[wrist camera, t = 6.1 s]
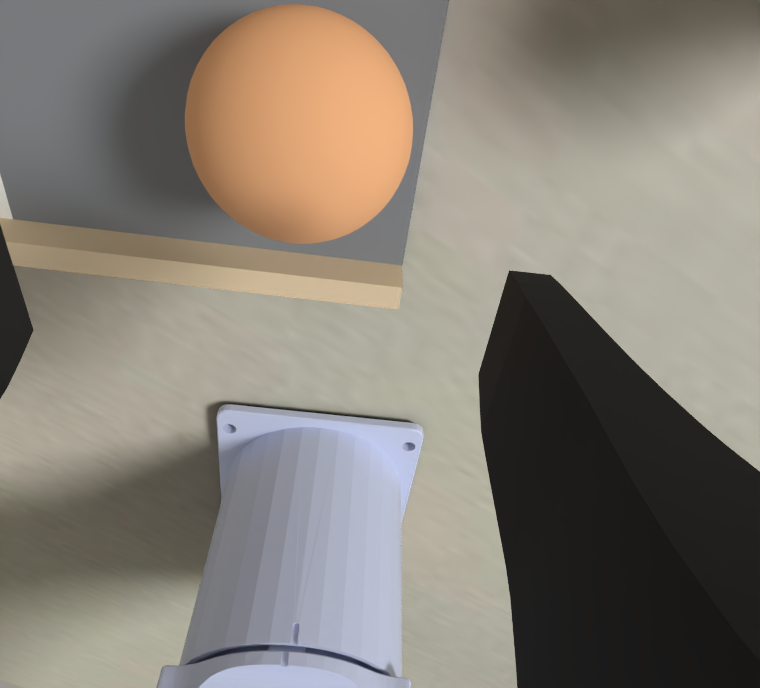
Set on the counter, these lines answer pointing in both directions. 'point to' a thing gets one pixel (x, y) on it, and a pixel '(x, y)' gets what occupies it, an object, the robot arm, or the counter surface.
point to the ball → (298, 124)
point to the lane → (173, 149)
